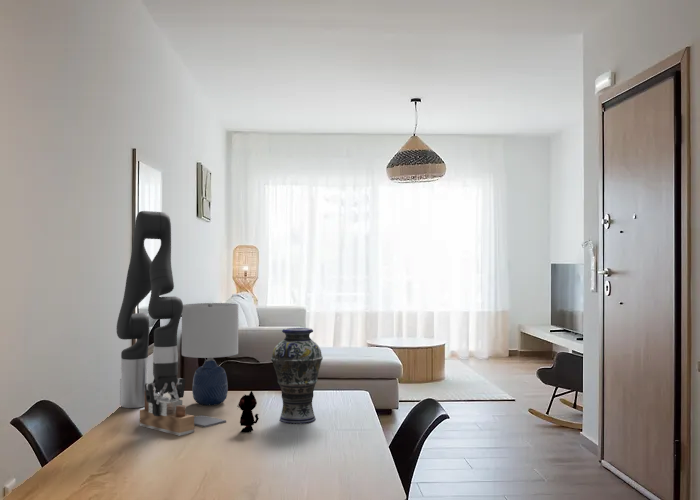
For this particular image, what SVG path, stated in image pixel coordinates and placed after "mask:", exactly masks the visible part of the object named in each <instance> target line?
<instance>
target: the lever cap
mask: <svg viewBox="0 0 700 500" xmlns="http://www.w3.org/2000/svg"><path fill="white" fill-rule="evenodd" d="M159 404H160V415H163V416H170V415H175V414H176V406H178V405H183V399H181V398H180V399H174V398H171V397H168V396H163V397H162V398H161V400H160V402H159ZM152 410H153V409H152V403H149V413H152Z"/></svg>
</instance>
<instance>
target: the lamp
mask: <svg viewBox="0 0 700 500" xmlns="http://www.w3.org/2000/svg"><path fill="white" fill-rule="evenodd" d="M237 355H239V304H238V303H232V302H231V303H229V302H200V303H199V302H196V303H187V304H186V303H184V304H183V311H182V315H181V356H182V357H186V358H187V357H188V358H195V359H196V358H197V359H199V358H201V359H206V358H207V359H206V360H204V363H203V364H202V366H199V367H198V368H197V369H195V371H194V375H193V379H192V389H191V390H192V397H193V399H194V401H195V403H197V404H199V405H200V406H217V405H221V404H222V403H224V402H225V401H226V400H227V397H228V390H229V388H228V387H229V386H228V376H227V373H226V370H225V368H224V367H222V366H221V365H218V364H217V362H216V360H215V359H216V358H225V357H232V356H233V357H234V356H237Z"/></svg>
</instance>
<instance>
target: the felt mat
mask: <svg viewBox="0 0 700 500" xmlns="http://www.w3.org/2000/svg"><path fill="white" fill-rule="evenodd" d="M226 422H227V420H226V419H221V418H218V417H212V416H208V415H197V416H194V426H196V427H201V428H208V427H211V426H212V427H213V426H216V425H220V424H224V423H226Z"/></svg>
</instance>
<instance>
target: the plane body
mask: <svg viewBox="0 0 700 500" xmlns="http://www.w3.org/2000/svg"><path fill="white" fill-rule="evenodd" d="M154 390H155V389H153V392H154ZM194 417H195V415H193V414H188V413H186V405H184V404H182V405H178V406H176V414H175V415H170V416H163V415H160V416H154V414H153V413H149V403H148V402H147V401H146V392H145V406H144V408H143V409H139V427H142V428H143V427H144V428H148V429H152V430H155V431H160V432H164V433H167V434H171V435H176V436H179V437H180V436H184V435H189V434H192V433H194V432H195V425H194Z"/></svg>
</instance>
